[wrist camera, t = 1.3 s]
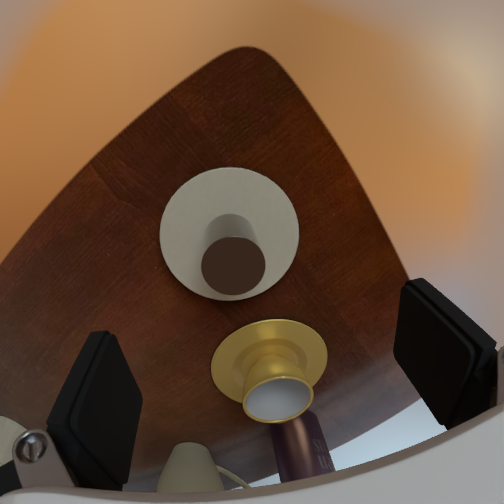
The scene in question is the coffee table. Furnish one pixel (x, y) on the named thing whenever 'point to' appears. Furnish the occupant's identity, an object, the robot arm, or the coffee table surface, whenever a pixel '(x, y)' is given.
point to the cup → (270, 368)
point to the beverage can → (300, 448)
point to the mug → (193, 471)
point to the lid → (229, 233)
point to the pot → (8, 438)
